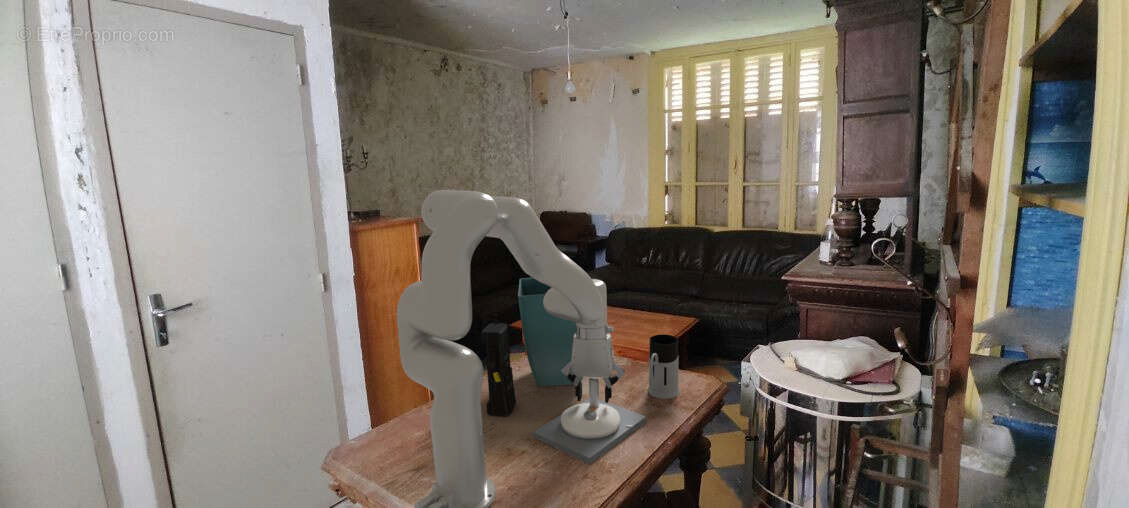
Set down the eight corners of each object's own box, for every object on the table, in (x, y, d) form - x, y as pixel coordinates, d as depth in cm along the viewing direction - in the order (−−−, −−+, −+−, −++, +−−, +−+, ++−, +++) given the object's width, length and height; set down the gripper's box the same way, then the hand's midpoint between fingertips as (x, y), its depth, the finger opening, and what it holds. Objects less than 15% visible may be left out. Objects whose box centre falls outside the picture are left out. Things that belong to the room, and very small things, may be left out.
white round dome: (615, 441, 117) (615, 406, 115) (554, 435, 120) (553, 401, 118) (623, 410, 130) (623, 378, 128) (568, 406, 133) (567, 375, 131)
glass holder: (684, 387, 145) (684, 336, 142) (667, 410, 133) (667, 355, 130) (653, 381, 149) (653, 331, 146) (635, 403, 137) (634, 349, 134)
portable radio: (508, 419, 131) (502, 324, 126) (485, 417, 133) (478, 323, 128) (517, 404, 139) (511, 314, 134) (495, 402, 140) (489, 313, 135)
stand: (590, 464, 112) (590, 457, 111) (533, 437, 123) (532, 430, 122) (647, 422, 128) (647, 415, 127) (591, 401, 139) (591, 395, 138)
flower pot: (524, 364, 164) (519, 277, 158) (587, 361, 165) (585, 274, 159) (523, 394, 144) (517, 295, 139) (595, 389, 145) (592, 291, 140)
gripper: (629, 326, 128) (629, 394, 131) (559, 324, 131) (562, 390, 135) (626, 337, 120) (627, 409, 124) (553, 335, 124) (556, 404, 128)
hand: (593, 399), depth 129 cm, fingers open, 6 cm apart
